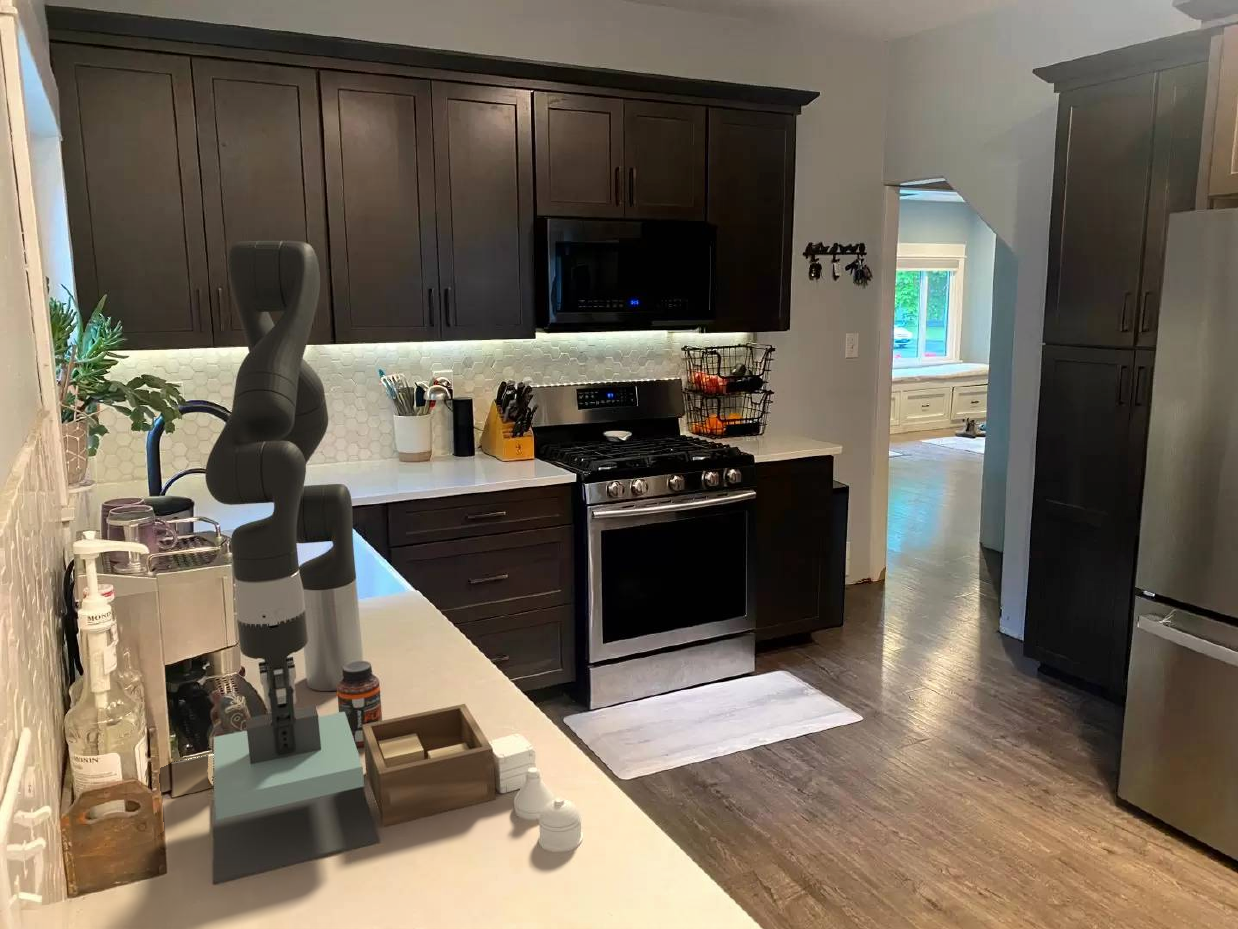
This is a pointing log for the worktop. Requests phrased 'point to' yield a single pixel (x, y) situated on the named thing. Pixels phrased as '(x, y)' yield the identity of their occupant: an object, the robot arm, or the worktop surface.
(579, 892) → the worktop surface
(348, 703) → the supplement bottle
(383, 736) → the box
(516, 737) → the container set
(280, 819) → the mat
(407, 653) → the worktop surface
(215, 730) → the figurine
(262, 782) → the lid
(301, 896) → the worktop surface
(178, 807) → the worktop surface
